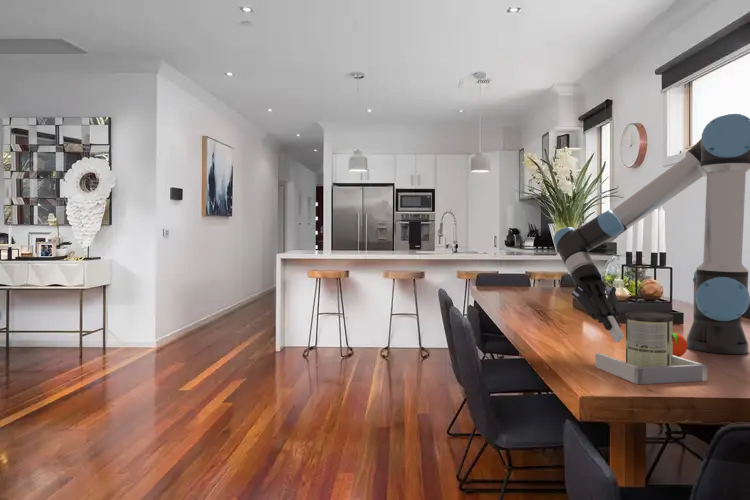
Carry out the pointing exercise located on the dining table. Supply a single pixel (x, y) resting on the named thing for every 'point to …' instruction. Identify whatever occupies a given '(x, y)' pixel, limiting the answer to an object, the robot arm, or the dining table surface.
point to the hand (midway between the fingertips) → (619, 339)
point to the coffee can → (649, 339)
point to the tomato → (679, 345)
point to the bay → (653, 370)
